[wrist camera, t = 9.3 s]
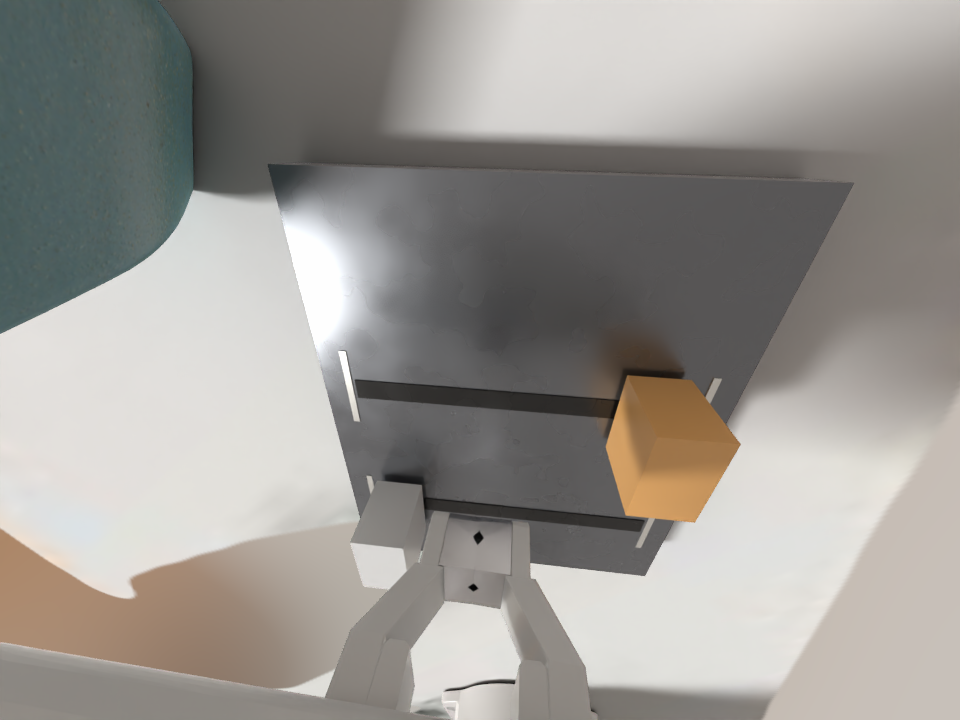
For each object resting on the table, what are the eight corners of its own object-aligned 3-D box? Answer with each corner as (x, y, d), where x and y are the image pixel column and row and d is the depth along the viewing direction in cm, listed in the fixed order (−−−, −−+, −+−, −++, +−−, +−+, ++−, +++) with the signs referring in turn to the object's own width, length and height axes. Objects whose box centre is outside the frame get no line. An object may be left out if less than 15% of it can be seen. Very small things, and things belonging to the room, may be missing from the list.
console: (635, 544, 23) (645, 576, 21) (377, 516, 24) (366, 545, 23) (805, 178, 12) (855, 182, 10) (300, 162, 13) (266, 163, 11)
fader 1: (426, 528, 21) (410, 592, 18) (385, 524, 21) (363, 586, 18) (421, 484, 18) (403, 548, 16) (377, 480, 19) (349, 542, 16)
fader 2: (661, 451, 16) (694, 522, 13) (605, 446, 16) (625, 515, 13) (691, 380, 13) (740, 444, 10) (627, 375, 14) (657, 437, 11)
